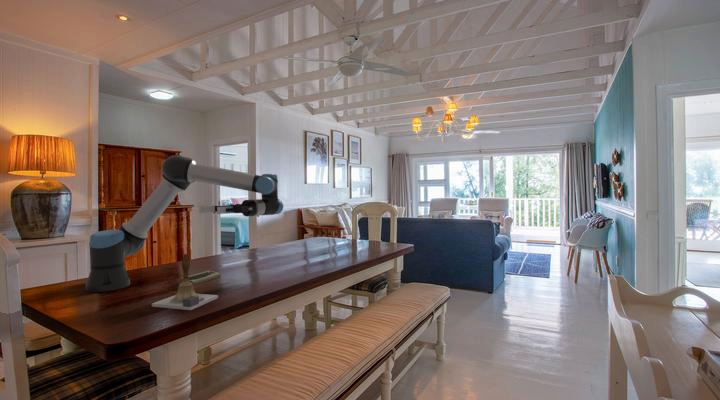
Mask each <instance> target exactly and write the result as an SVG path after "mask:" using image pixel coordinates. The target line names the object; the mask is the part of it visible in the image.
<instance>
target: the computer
mask: <svg viewBox="0 0 720 400" xmlns="http://www.w3.org/2000/svg"><path fill="white" fill-rule="evenodd" d="M215 278H216V279H218V278H221V273H220V272H217V271H213V270H205V271H201V272H198V273H195V274H191V275H188V281H189V282H191V283H192V284H193V286H195V285H199V284H202V283H205V282H208V281H212V280H214V279H215ZM216 279H215V280H216ZM178 282H179V284H180V283H182V282H183V277H180V278H179V281H178Z"/></svg>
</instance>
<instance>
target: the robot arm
mask: <svg viewBox="0 0 720 400" xmlns="http://www.w3.org/2000/svg"><path fill="white" fill-rule="evenodd" d="M161 171H162V175H161V179H162V180H161V182H160V183H159V184H158V185H157V187H156V188H155V189H154V191H152V193H151V194H150V195H149V197H147V199H146V200H145V201H144V203H142V205H141V206H140V208H138V210H137V211H136V212H135V214H134V215H133V216H132V217H131V218H130V220H129V221H127V222H123V223H122V224H121V225H120V226H119V228H118V229H106V230H100V231H96V232H93V233H92V234H91V235H90V236H89V259H90V260H89V263H90V270H89V275H88V278H87V281H86V283H85V292H87V293H88V292H90V293H102V292H111V291H116V290H121V289H124V288H128V287H129V286H130V285H131V279H130V277H129V274H128V272H127V269H126V265H125V262H126V261H125V258H127V257H131V256H133V255H136V254H137V253H138V252H140V251H141V250H142V249H143V247H144V246H145V243H146V240H147V239H148V237H149V235H148V232H149V230H150V229H151V228H152V227H153V225H154V224H155V223H156V221H157V220H158V219H159V218H160V216H161V215H162V214H163V213H164V211H166V209H167V208H168V207H169V205H170V204H171V203H172V202H173V201H174V199H175V198H176V197H177V195H178V194H179V193H180V192H184V191H186V190H187V189H188V188H189V187H190V185H191V184H193V183H194V182H199V183H204V184H209V185H210V184H211V185H214V186H215V185H216V186H220V187H226V188H232V189H235V190H236V189H237V190H242V191H247V192H253V193H259V194H261V198H260V199H259V198H258V199H257V198H256V199H255V198H254V199H244V200H242V202H241V203H235V204H230V205H202V206H201V205H200V206H199V207H198V209H199V210H198V211H199V213H200V214H205V213H212V214H215V213H216V214H217V215H219V214H220V215H221V214H222V215H223V214H241V215H243V216H244V217H257V218H259V217H260V216H272V215H279V214H281V213H282V212H283V210H284V203H283V201H282V200H281V199H279V196H278V195H279V194H278V191H279V190H278V189H279V188H278V187H279V186H278V185H279V181H278V175H277V174H275V173H263V174H261V175H257V174H253V173H248V172H243V171H238V170H232V169H228V168H222V167H217V166H211V165H206V164H203V163H197V160H194V159H192V158H190V157H188V156H187V157H185V156H182V155H178V154H177V155H176V154H175V155H171V156H168V157H167V158H166V159H165V160H164V161H163V163H162V166H161Z"/></svg>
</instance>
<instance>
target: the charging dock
mask: <svg viewBox="0 0 720 400" xmlns="http://www.w3.org/2000/svg"><path fill="white" fill-rule="evenodd" d="M196 294H197V295H198V296H199V297H198V296H190V297H188V298H185V299H183V302H175V301H173V298H174V297H175V296H176V295H177V294H175V295H172V296H169V297H166V298H163V299H161V300H158V301H155V302H153V303H151V307H153V308H162V309H175V310H184V311H185V310H186V311H193V310H194V309H196V308H199V307H202V306H203V305H206V304H208V303H211V302H212V301H214V300H217V299H218V298H219V295H217V294H206V293H205V294H204V293H196Z"/></svg>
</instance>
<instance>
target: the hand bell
mask: <svg viewBox="0 0 720 400" xmlns="http://www.w3.org/2000/svg"><path fill="white" fill-rule="evenodd" d="M190 263H191V261H190V258H189V255H188V253H184V254H183V257H182V259H181V268H182V272H183V273H182V275H183V277H182V278H183V282H182V283H179V284H178V289H177V293H176V294H175V295H176V296H175V297H174V298H173V301H175V302H183V299H185V298H188V297H190V296H198V295H197V294H198V293H196V291H195V289H194V285H193V284H192V283H191V282H189V281H188V276H189V271H190V267H191V266H190V265H191V264H190ZM198 297H199V296H198Z"/></svg>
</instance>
